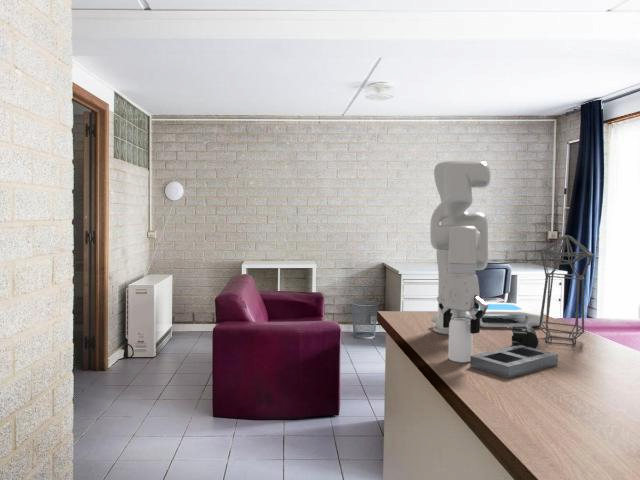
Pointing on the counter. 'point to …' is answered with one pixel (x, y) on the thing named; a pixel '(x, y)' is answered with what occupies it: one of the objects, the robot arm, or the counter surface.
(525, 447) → the counter surface
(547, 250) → the geometric lantern
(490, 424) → the counter surface
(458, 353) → the can
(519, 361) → the grey windowed frame
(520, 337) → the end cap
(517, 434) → the counter surface
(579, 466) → the counter surface
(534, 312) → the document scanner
